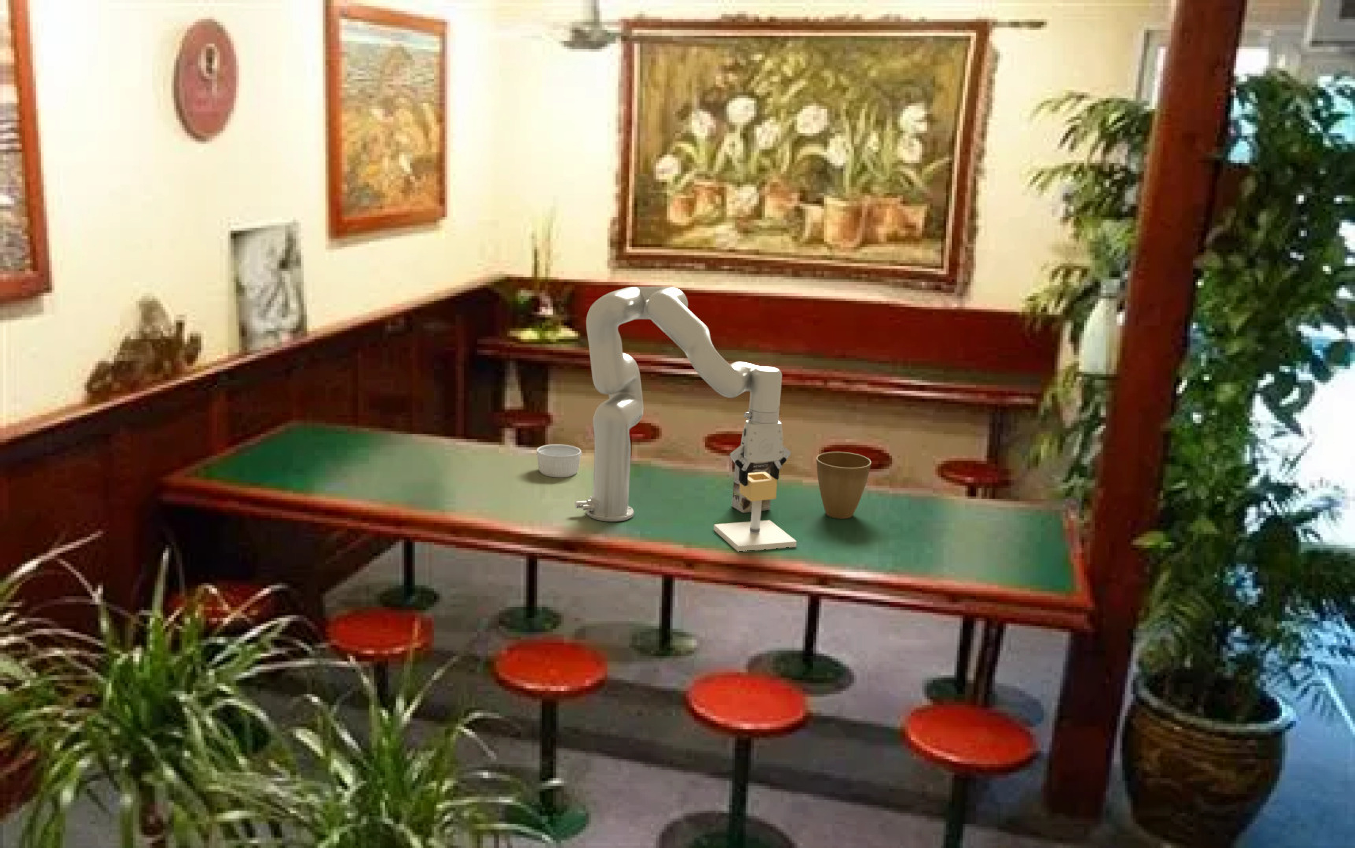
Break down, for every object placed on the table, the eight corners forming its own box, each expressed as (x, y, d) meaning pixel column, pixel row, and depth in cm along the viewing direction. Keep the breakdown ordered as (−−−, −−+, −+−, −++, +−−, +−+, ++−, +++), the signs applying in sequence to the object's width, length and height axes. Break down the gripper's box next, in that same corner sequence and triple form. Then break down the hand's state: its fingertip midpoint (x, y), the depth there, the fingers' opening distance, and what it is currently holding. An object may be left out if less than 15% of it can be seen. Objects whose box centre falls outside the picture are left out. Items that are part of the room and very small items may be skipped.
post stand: (738, 551, 275) (741, 505, 272) (713, 529, 289) (716, 485, 286) (796, 546, 281) (800, 501, 278) (769, 525, 295) (772, 481, 292)
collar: (750, 501, 278) (751, 482, 276) (739, 492, 284) (740, 473, 283) (775, 498, 280) (777, 480, 279) (764, 490, 287) (765, 471, 285)
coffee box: (742, 513, 303) (747, 457, 299) (731, 506, 309) (734, 450, 305) (771, 510, 307) (775, 454, 303) (758, 502, 313) (763, 447, 309)
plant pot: (821, 502, 316) (826, 448, 312) (872, 512, 310) (877, 457, 306) (803, 516, 303) (808, 460, 299) (856, 527, 297) (862, 470, 293)
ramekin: (556, 463, 339) (557, 441, 338) (589, 472, 332) (590, 450, 330) (526, 472, 329) (527, 449, 327) (560, 482, 322) (561, 459, 320)
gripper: (737, 421, 270) (732, 490, 275) (801, 418, 277) (795, 485, 281) (725, 413, 277) (721, 480, 282) (788, 411, 283) (782, 477, 288)
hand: (758, 483), depth 281 cm, fingers open, 7 cm apart
